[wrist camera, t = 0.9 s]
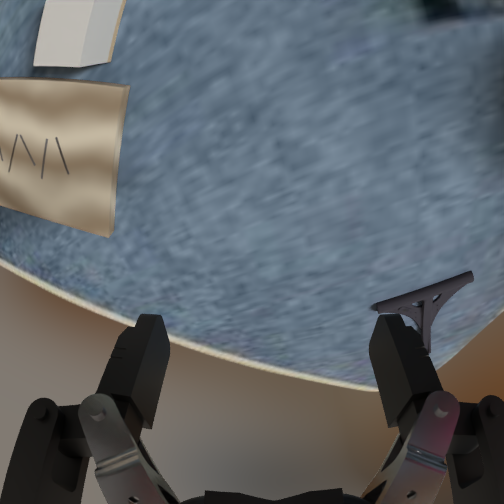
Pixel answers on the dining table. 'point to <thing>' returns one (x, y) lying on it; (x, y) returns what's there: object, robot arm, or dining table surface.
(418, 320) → the bracket
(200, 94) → the dining table surface
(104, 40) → the block
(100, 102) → the birch board
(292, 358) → the dining table surface
